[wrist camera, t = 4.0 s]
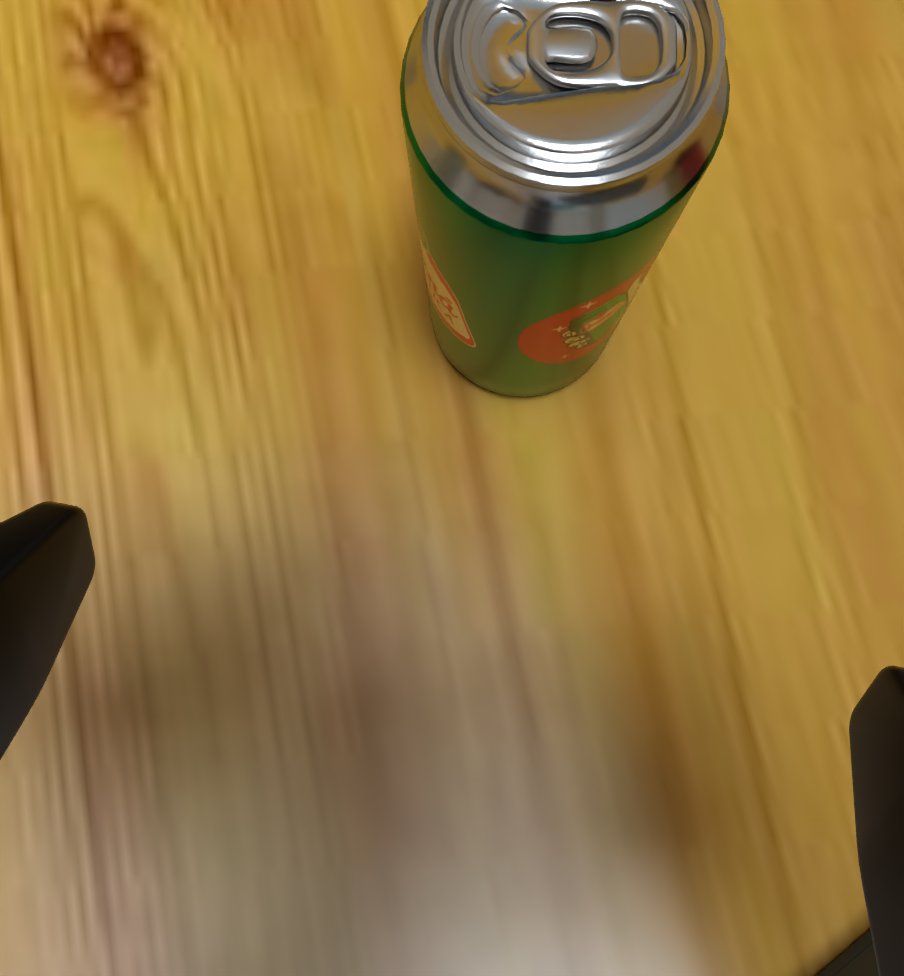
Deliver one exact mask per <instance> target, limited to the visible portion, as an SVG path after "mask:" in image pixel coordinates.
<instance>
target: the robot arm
mask: <svg viewBox="0 0 904 976" xmlns="http://www.w3.org/2000/svg"><path fill="white" fill-rule="evenodd" d="M94 569H95V556H94V551H93V546H92V541H91V536H90V531H89V527H88V522H87V518H86V514H85V513H84V511H83V510H82V509H81V508H79V507H77V506H72V505H67V504H62V503H56V502H42V503H40V504H37V505H35V506H33V507H31V508H29V509H27V510H25V511H23V512H21V513H19V514H17V515H15V516H13V517H11V518H9V519H7V520H5V521H3V522H1V523H0V760H1V758H2V756H3V755H4V753H5V751H6V750H7V748H8V746H9V745H10V743H11V741H12V740H13V738H14V736H15V735H16V733H17V731H18V730H19V728H20V726H21V725H22V723H23V721H24V720H25V718H26V716H27V715H28V713H29V711H30V709H31V708H32V706H33V704H34V702H35V700H36V699H37V697H38V695H39V693H40V691H41V689H42V687H43V685H44V683H45V681H46V679H47V677H48V675H49V673H50V670H51V668H52V666H53V664H54V662H55V659H56V657H57V655H58V653H59V651H60V648H61V646H62V644H63V642H64V640H65V637H66V635H67V633H68V631H69V629H70V626H71V624H72V622H73V620H74V618H75V615H76V613H77V611H78V609H79V607H80V604H81V602H82V600H83V598H84V596H85V593H86V591H87V589H88V587H89V585H90V582H91V580H92V577H93V574H94ZM849 734H850V749H851V764H852V778H853V793H854V808H855V823H856V837H857V848H858V858H859V866H860V872H861V879H862V885H863V891H864V896H865V901H866V907H867V912H868V918H869V923H870V929H871V934H872V939H873V945H874V950H875V956H876V961H877V967H878V972H879V976H904V668H903V667H898V666H888V667H885V668H884V669H882V670H881V671H880V672H879V674H878V675H877V676H876V678H875V679H874V681H873V682H872V684H871V685H870V686H869V688H868V689H867V691H866V692H865V694H864V695H863V697H862V698H861V699H860V701H859V702H858V704H857V705H856V707H855V708H854V710H853V713H852V715H851V719H850V726H849Z"/></svg>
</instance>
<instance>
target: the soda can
mask: <svg viewBox="0 0 904 976" xmlns="http://www.w3.org/2000/svg"><path fill="white" fill-rule="evenodd" d="M729 91H730V84H729V75H728V65H727V60H726V56H725V32H724V23H723V17H722V14H721V10H720V7H719V3H718V0H428V3H427V6H426V8H425V9H424V11H423V12H422V14H421V15H420V17H419V19H418V21H417V23H416V25H415V27H414V29H413V31H412V34H411V36H410V38H409V41H408V45H407V48H406V52H405V55H404V59H403V63H402V72H401V81H400V96H401V111H402V118H403V125H404V132H405V139H406V146H407V153H408V160H409V167H410V174H411V180H412V187H413V194H414V201H415V208H416V215H417V222H418V229H419V236H420V243H421V249H422V256H423V263H424V270H425V277H426V284H427V291H428V298H429V305H430V312H431V318H432V323H433V328H434V332H435V335H436V338H437V340H438V343H439V345H440V347H441V349H442V350H443V352H444V354H445V355H446V357H447V359H448V360H449V361H450V362H451V363H452V365H453V366H454V367H455V368H456V369H457V370H458V371H459V372H460V373H461V374H463V375H464V376H465V377H466V378H467V379H469V380H470V381H472V382H474V383H475V384H477V385H479V386H480V387H483V388H485V389H488V390H490V391H492V392H496V393H500V394H504V395H510V396H521V397H523V396H537V395H541V394H546V393H550V392H553V391H555V390H558V389H561V388H563V387H565V386H567V385H568V384H570V383H572V382H574V381H575V380H577V379H578V378H579V377H580V376H582V375H583V374H584V373H585V372H587V371H588V370H589V368H590V367H591V366H592V365H593V364H594V363H595V362H596V361H597V359H598V358H599V356H600V354H601V353H602V351H603V350H604V348H605V346H606V345H607V343H608V341H609V339H610V338H611V336H612V334H613V332H614V331H615V329H616V327H617V325H618V324H619V322H620V320H621V318H622V317H623V315H624V313H625V311H626V310H627V308H628V306H629V304H630V303H631V301H632V299H633V297H634V296H635V294H636V292H637V290H638V289H639V287H640V285H641V283H642V282H643V280H644V278H645V276H646V275H647V273H648V271H649V269H650V268H651V266H652V264H653V262H654V261H655V259H656V257H657V255H658V254H659V252H660V250H661V248H662V247H663V245H664V243H665V241H666V240H667V238H668V236H669V234H670V233H671V231H672V229H673V227H674V226H675V224H676V222H677V220H678V219H679V217H680V215H681V213H682V212H683V210H684V208H685V206H686V205H687V203H688V201H689V199H690V198H691V196H692V194H693V192H694V191H695V189H696V187H697V185H698V184H699V182H700V180H701V178H702V177H703V175H704V173H705V171H706V170H707V168H708V166H709V164H710V163H711V161H712V159H713V157H714V155H715V152H716V150H717V147H718V145H719V143H720V140H721V138H722V136H723V131H724V127H725V123H726V119H727V114H728V107H729Z"/></svg>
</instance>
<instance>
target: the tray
mask: <svg viewBox="0 0 904 976" xmlns="http://www.w3.org/2000/svg"><path fill="white" fill-rule="evenodd" d="M817 976H879V972H878V967H877V961H876V956H875V950H874V945H873V939H872V934H871V929H870V930H869V931H868V932H867V933H866V934H864V935H863V936H862V937H861V938H860V939H859V940H857V941H856V942H855V943H854V944H853V945H852V946H850V947H849V948H848V949H847V950H846V951H845V952H843V953H842V954H841V955H840V956H839V957H838V958H836V959H835V960H834V961H833V962H832V963H831V964H829V965H828V966H827V967H826V968H825V969H824V970H822V971H821V972H820V973H819V974H818V975H817Z"/></svg>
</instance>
